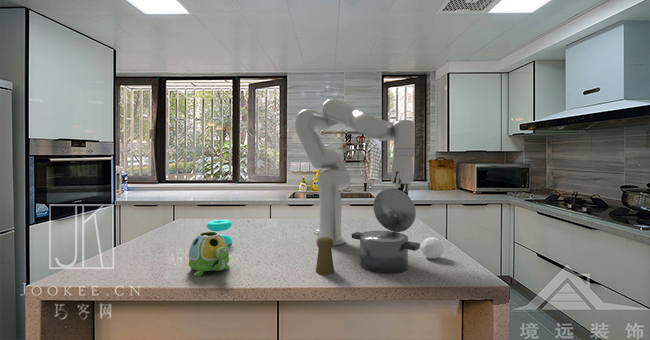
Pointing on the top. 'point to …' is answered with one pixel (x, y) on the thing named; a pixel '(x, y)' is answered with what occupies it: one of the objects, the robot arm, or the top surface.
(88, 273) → the top surface
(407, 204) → the lid
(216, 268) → the turtle holder
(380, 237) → the pot
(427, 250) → the geometric ball
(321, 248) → the cork
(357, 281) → the top surface
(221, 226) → the turquoise spool shape
